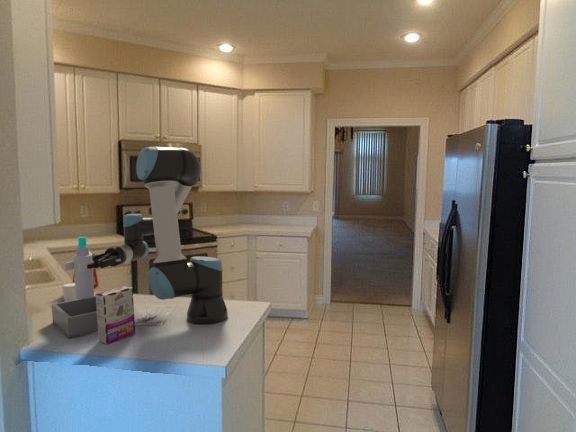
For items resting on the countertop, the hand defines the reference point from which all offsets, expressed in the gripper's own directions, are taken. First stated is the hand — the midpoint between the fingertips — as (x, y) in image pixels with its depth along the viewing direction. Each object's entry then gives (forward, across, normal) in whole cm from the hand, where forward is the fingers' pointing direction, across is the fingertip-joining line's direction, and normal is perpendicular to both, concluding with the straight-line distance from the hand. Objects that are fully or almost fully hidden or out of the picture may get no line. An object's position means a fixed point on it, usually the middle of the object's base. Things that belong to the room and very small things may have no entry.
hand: (71, 267), depth 149 cm
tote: (-4, 0, -22) cm, 22 cm away
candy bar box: (+2, -20, -22) cm, 30 cm away
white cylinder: (-26, +28, -22) cm, 44 cm away
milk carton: (-41, +35, -22) cm, 58 cm away
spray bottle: (-5, 0, -12) cm, 13 cm away
